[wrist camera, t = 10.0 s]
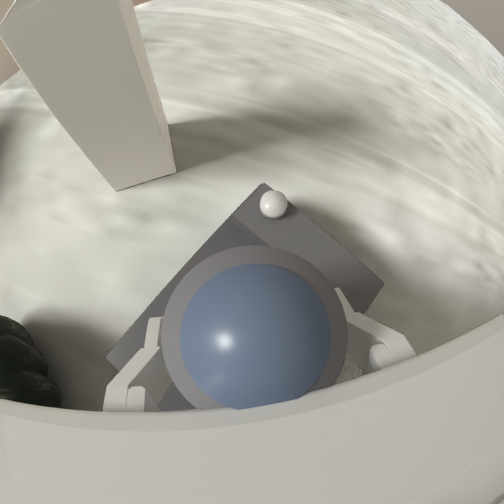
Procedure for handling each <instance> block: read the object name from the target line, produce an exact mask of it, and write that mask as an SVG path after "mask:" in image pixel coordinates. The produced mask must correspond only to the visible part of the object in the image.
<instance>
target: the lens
mask: <svg viewBox="0 0 504 504" xmlns="http://www.w3.org/2000/svg"><path fill="white" fill-rule="evenodd" d="M347 343H348V328H347V321H346V316H345V312H344V309H343V305H342V303H341V301H340V299H339V296H338V294H337V293H336V291H335V289H334V288H333V286H332V284H331V283H330V282H329V281H328V279H327V278H326V277H325V276H324V275H323V274H322V273H321V272H320V271H319V270H318V269H317V268H316V267H315V266H314V265H312V264H311V263H309V262H308V261H307V260H305V259H303V258H302V257H300V256H298V255H296V254H294V253H291V252H289V251H286V250H283V249H280V248H276V247H271V246H263V245H247V246H239V247H234V248H230V249H226V250H223V251H221V252H218V253H216V254H214V255H212V256H210V257H208V258H206V259H205V260H203V261H201V262H200V263H199V264H198V265H196V266H195V267H194V268H192V269H191V270H190V271H189V272H188V273H187V274H186V275H185V276H184V277H183V279H182V280H181V281H180V283H179V284H178V285H177V286H176V288H175V290H174V292H173V293H172V295H171V297H170V299H169V301H168V304H167V306H166V309H165V313H164V317H163V321H162V329H161V345H162V352H163V357H164V361H165V364H166V368H167V370H168V372H169V374H170V377H171V379H172V381H173V382H174V384H175V385H176V387H177V389H178V390H179V391H180V392H181V394H182V395H183V396H184V397H185V398H186V399H187V400H188V401H189V402H190V403H191V404H192V405H193V406H194V407H195V408H197V409H198V410H209V409H218V408H226V407H230V408H232V409H236V410H242V409H248V408H254V407H260V406H266V405H271V404H276V403H281V402H286V401H291V400H295V399H299V398H300V397H301V396H302V395H304V394H305V393H308V392H312V391H316V390H320V389H324V388H327V387H331V386H333V385H334V383H335V381H336V380H337V378H338V376H339V374H340V372H341V369H342V366H343V364H344V360H345V356H346V352H347Z"/></svg>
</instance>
